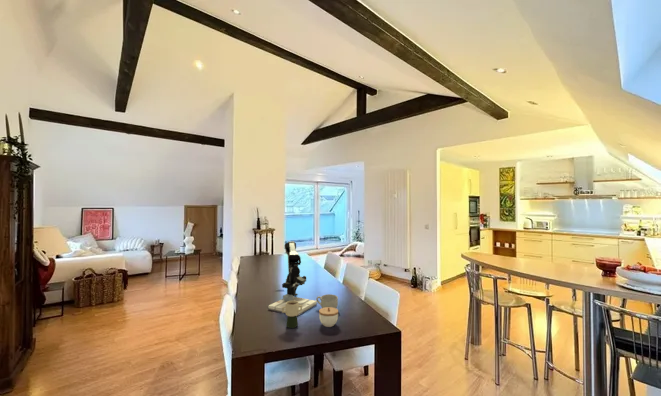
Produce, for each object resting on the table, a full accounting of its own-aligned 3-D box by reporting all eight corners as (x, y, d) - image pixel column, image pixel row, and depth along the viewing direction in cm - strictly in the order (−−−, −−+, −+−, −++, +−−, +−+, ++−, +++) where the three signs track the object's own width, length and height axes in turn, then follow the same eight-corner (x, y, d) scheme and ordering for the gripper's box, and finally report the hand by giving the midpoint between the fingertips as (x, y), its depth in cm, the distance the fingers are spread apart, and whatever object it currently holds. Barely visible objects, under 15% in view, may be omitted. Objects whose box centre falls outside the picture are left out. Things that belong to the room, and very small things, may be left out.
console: (289, 299, 204) (289, 295, 204) (316, 304, 194) (316, 300, 194) (268, 309, 185) (268, 305, 185) (297, 315, 174) (297, 311, 174)
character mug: (300, 323, 164) (300, 299, 164) (303, 328, 157) (303, 303, 157) (281, 325, 161) (281, 301, 161) (282, 330, 154) (282, 305, 154)
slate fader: (286, 301, 197) (286, 294, 197) (292, 302, 195) (292, 295, 195) (283, 302, 194) (283, 295, 194) (289, 304, 191) (289, 296, 191)
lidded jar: (314, 325, 162) (314, 307, 162) (327, 319, 170) (327, 302, 170) (329, 330, 155) (329, 312, 155) (342, 324, 163) (342, 307, 163)
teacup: (340, 308, 187) (340, 295, 187) (332, 314, 177) (332, 300, 178) (321, 304, 194) (321, 292, 194) (313, 310, 184) (313, 297, 184)
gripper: (295, 276, 188) (295, 301, 188) (311, 270, 205) (311, 293, 204) (281, 274, 193) (281, 298, 193) (297, 269, 210) (297, 291, 210)
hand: (293, 295), depth 200 cm, fingers closed
